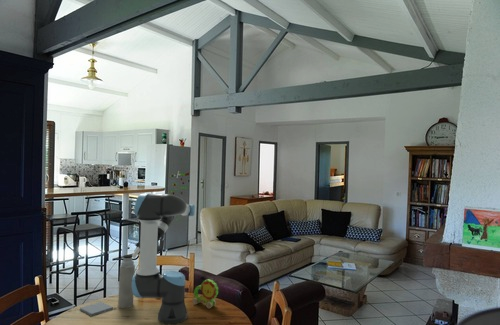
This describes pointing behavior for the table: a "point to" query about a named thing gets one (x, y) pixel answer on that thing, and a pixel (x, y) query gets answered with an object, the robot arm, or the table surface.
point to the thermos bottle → (126, 282)
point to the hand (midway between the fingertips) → (141, 258)
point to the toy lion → (206, 293)
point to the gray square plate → (96, 308)
